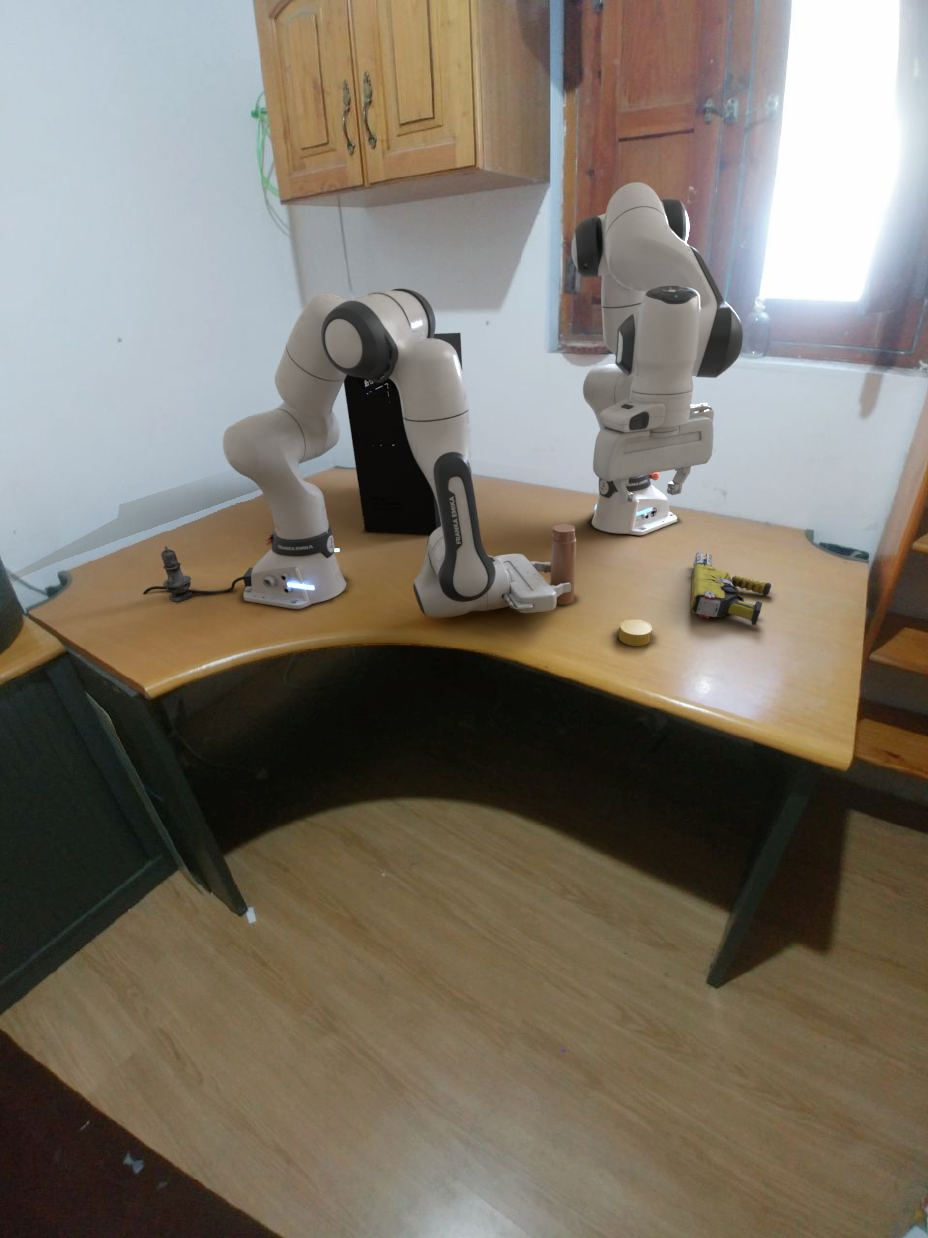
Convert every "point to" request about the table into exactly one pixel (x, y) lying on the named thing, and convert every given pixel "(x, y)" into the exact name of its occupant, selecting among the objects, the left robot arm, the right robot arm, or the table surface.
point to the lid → (635, 632)
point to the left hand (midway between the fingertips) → (560, 575)
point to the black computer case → (389, 458)
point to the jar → (563, 560)
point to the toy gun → (722, 592)
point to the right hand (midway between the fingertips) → (649, 498)
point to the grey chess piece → (175, 577)
